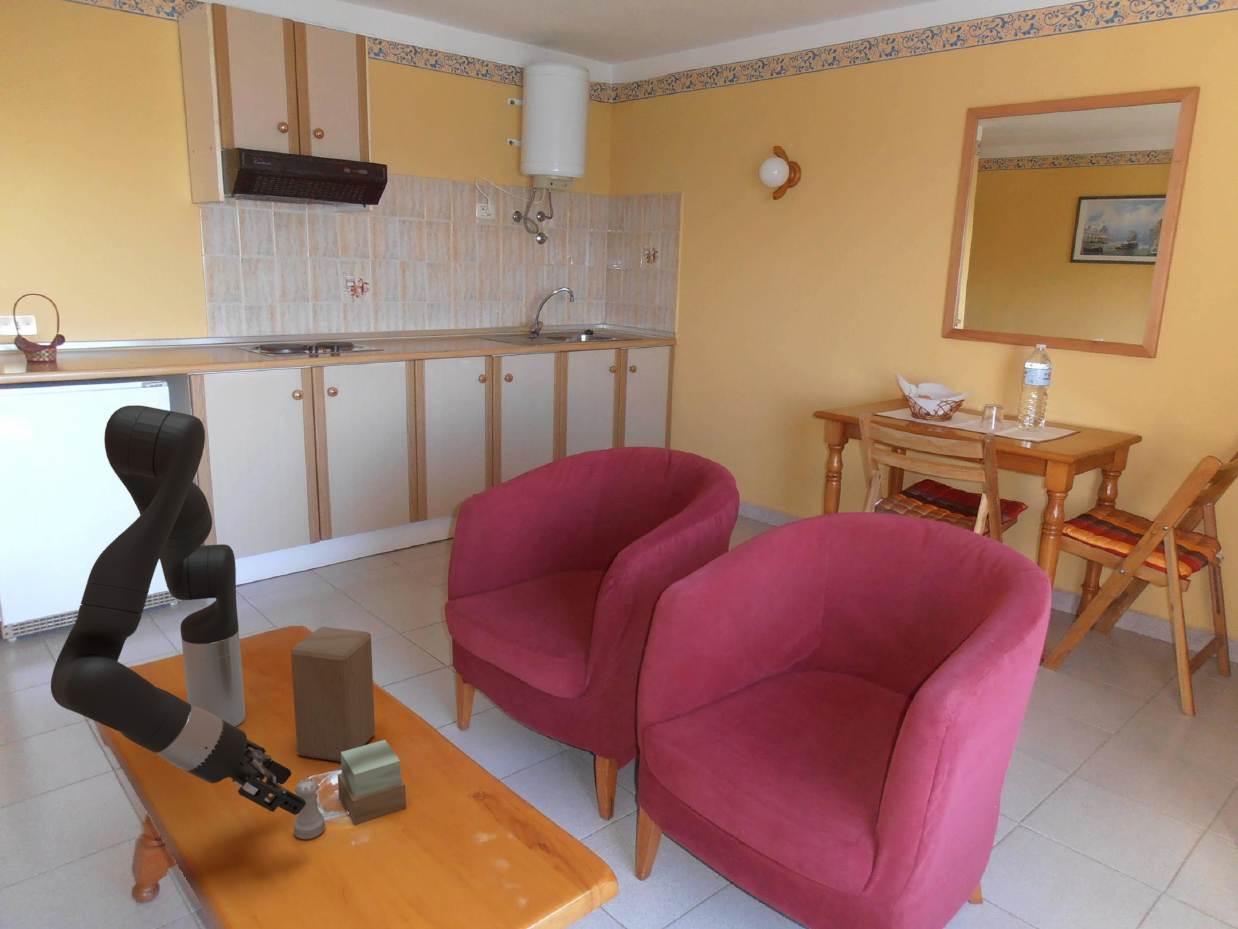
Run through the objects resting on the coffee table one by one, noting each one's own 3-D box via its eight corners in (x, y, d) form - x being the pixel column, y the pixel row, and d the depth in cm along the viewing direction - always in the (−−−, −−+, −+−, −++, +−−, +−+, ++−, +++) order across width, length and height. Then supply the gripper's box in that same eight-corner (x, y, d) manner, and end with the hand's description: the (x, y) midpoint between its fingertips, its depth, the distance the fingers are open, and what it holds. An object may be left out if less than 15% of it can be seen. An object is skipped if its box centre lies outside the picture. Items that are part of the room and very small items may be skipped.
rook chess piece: (298, 822, 129) (295, 774, 127) (328, 821, 129) (326, 773, 128) (289, 841, 125) (286, 792, 123) (321, 840, 125) (318, 791, 123)
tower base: (338, 797, 135) (336, 751, 133) (388, 781, 140) (387, 737, 138) (354, 825, 129) (352, 777, 127) (406, 807, 133) (404, 761, 131)
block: (349, 765, 144) (343, 655, 139) (295, 757, 146) (287, 648, 141) (377, 734, 153) (373, 630, 149) (326, 727, 155) (320, 624, 151)
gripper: (229, 744, 111) (325, 795, 119) (211, 697, 122) (300, 747, 131) (187, 793, 109) (287, 842, 118) (173, 741, 121) (265, 789, 129)
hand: (294, 792), depth 124 cm, fingers open, 8 cm apart
